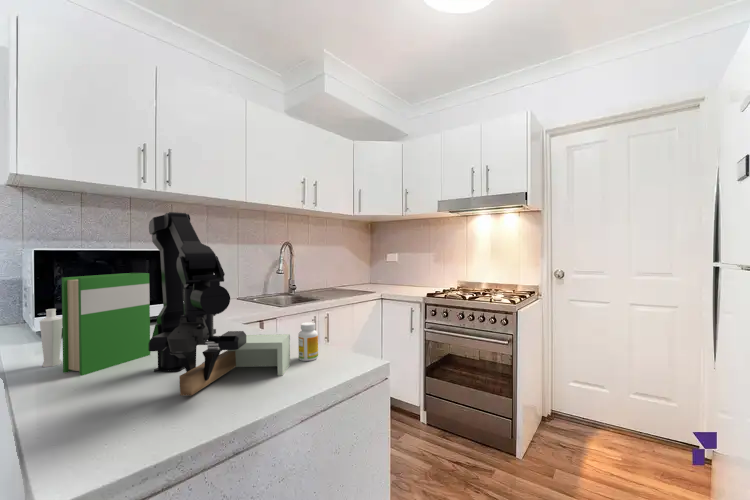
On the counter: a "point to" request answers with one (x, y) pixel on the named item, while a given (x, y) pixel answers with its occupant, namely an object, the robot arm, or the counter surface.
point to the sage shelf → (265, 352)
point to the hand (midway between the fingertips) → (199, 380)
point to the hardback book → (104, 320)
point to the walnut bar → (195, 376)
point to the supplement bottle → (308, 342)
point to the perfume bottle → (51, 338)
